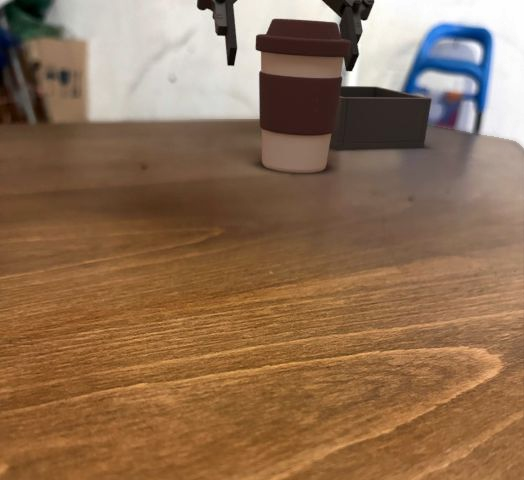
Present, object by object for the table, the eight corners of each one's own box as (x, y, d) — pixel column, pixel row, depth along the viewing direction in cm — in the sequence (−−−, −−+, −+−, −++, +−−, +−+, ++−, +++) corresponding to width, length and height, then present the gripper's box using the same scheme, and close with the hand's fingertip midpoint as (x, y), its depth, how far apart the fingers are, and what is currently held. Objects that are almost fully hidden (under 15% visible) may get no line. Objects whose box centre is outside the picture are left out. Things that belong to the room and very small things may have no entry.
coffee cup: (232, 166, 74) (237, 16, 67) (281, 155, 82) (290, 18, 75) (308, 182, 69) (322, 22, 63) (352, 168, 77) (369, 24, 70)
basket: (371, 131, 102) (376, 86, 99) (423, 148, 91) (431, 98, 88) (291, 133, 97) (294, 85, 94) (336, 151, 86) (342, 98, 83)
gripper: (365, -51, 86) (388, 87, 79) (169, -67, 81) (178, 78, 75) (385, -107, 79) (412, 40, 72) (171, -128, 74) (181, 27, 68)
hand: (293, 60), depth 73 cm, fingers open, 13 cm apart
